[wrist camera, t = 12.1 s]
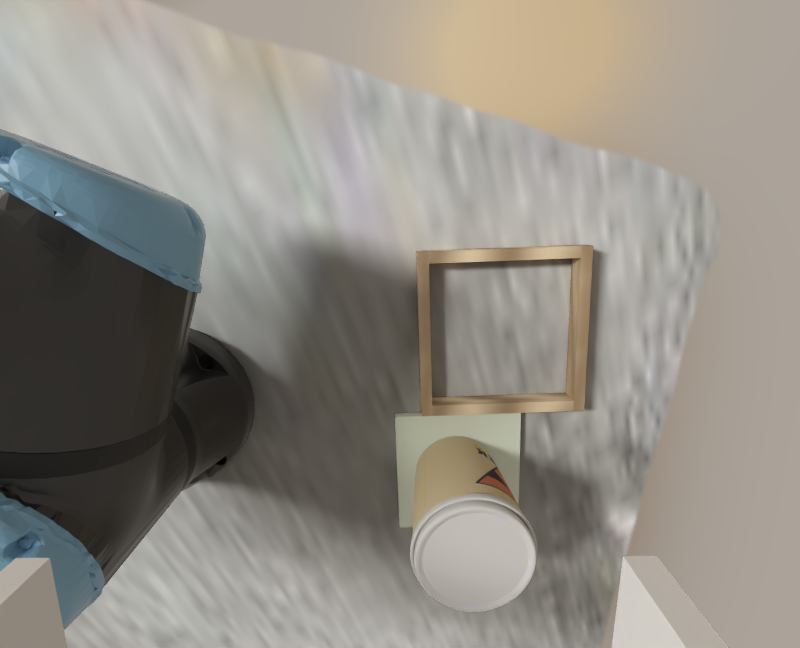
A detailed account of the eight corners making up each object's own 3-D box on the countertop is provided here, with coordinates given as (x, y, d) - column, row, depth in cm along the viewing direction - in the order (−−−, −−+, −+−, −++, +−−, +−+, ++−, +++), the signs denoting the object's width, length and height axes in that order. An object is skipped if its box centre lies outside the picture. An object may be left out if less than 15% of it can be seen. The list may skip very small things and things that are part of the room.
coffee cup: (516, 492, 44) (559, 589, 32) (429, 526, 45) (440, 633, 33) (481, 412, 42) (513, 484, 30) (391, 449, 43) (389, 532, 31)
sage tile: (399, 522, 45) (399, 527, 45) (394, 413, 43) (394, 416, 42) (516, 518, 45) (518, 523, 45) (518, 409, 43) (520, 412, 42)
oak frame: (420, 407, 43) (421, 416, 41) (416, 251, 40) (417, 252, 38) (575, 402, 43) (584, 410, 41) (583, 244, 40) (593, 245, 38)
